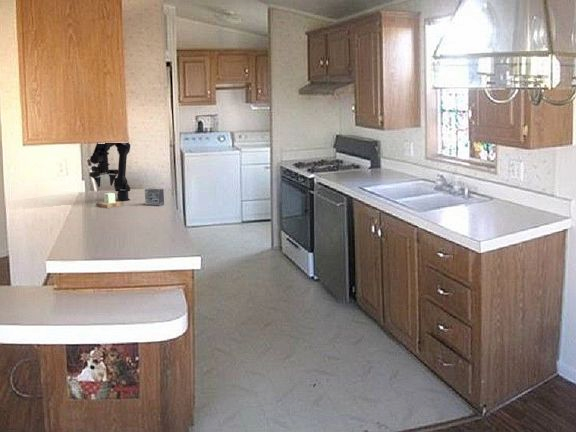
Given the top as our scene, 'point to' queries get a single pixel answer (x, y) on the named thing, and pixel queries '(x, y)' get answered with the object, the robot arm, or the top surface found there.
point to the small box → (154, 197)
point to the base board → (109, 204)
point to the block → (109, 198)
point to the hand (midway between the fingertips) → (105, 186)
